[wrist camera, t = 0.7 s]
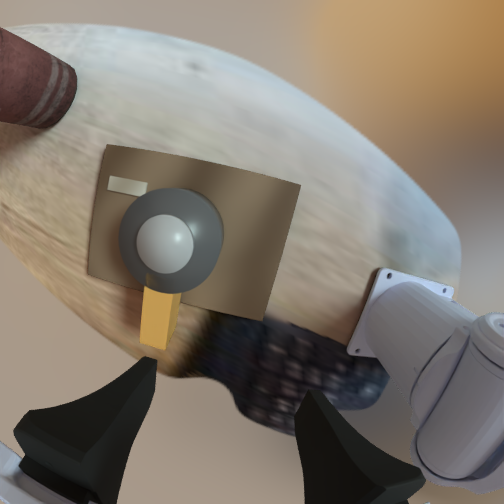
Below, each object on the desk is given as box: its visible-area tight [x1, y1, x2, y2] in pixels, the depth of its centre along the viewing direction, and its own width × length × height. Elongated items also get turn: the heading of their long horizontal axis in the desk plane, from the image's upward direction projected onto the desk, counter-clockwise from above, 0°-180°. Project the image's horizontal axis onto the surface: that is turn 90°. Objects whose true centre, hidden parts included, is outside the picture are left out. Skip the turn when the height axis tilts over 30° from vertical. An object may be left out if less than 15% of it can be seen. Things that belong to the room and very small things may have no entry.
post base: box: [88, 144, 301, 321], centre depth 18 cm, size 14×10×1 cm
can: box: [0, 27, 77, 128], centre depth 9 cm, size 6×6×14 cm
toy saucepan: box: [118, 188, 224, 350], centre depth 16 cm, size 10×6×4 cm, turn 166°
